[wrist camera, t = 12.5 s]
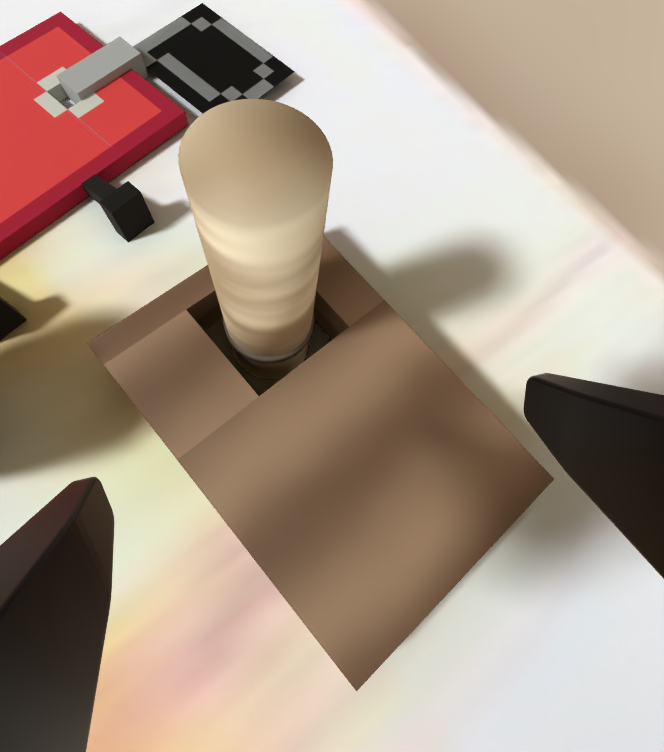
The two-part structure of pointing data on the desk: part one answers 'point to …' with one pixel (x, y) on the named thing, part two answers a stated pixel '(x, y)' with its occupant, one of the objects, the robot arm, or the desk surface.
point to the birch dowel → (260, 224)
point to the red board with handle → (106, 115)
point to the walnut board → (332, 457)
